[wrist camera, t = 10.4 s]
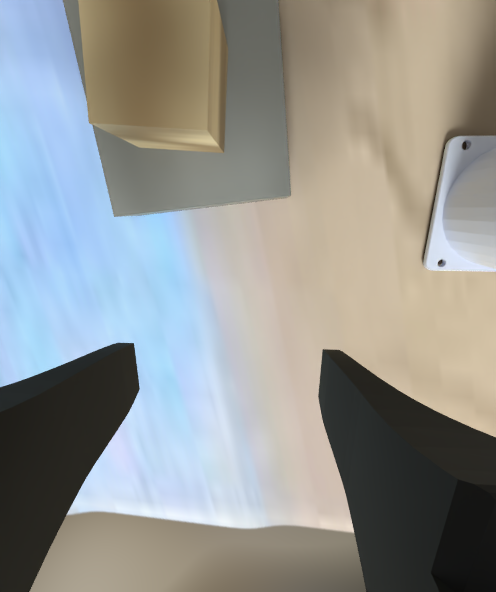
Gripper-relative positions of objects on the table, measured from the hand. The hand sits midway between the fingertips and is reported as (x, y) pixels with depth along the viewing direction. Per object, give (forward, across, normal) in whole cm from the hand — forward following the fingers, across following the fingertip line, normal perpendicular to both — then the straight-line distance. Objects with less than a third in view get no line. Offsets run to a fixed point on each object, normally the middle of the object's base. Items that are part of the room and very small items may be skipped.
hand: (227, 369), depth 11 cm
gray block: (+11, +3, -11) cm, 16 cm away
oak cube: (+7, +3, -11) cm, 13 cm away
